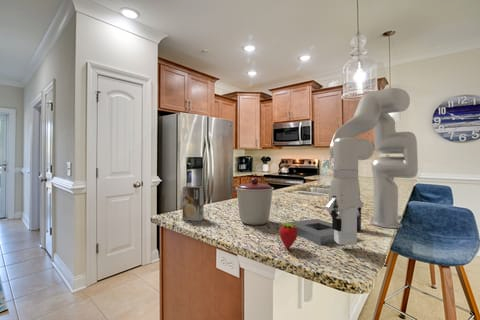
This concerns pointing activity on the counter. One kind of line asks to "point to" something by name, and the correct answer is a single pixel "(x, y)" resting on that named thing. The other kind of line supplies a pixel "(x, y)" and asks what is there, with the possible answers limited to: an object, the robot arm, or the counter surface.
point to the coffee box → (193, 203)
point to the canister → (254, 202)
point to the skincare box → (347, 228)
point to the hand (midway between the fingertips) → (345, 228)
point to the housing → (315, 231)
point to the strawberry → (288, 234)
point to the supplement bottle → (359, 222)
